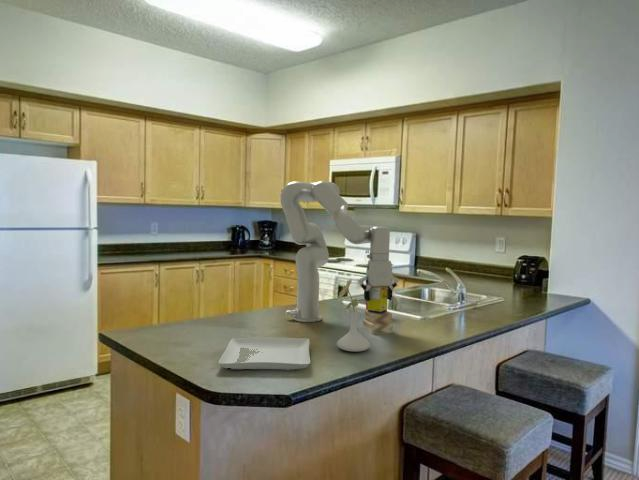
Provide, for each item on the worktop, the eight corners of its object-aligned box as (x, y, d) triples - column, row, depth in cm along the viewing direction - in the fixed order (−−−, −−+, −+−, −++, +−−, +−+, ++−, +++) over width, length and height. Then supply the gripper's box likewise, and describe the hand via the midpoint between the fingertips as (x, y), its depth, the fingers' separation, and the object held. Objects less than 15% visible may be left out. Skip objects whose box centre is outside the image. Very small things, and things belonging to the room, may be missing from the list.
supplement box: (387, 311, 191) (388, 284, 190) (380, 313, 186) (381, 286, 185) (373, 309, 194) (374, 282, 193) (367, 311, 189) (368, 284, 188)
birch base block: (371, 335, 185) (371, 324, 184) (362, 329, 193) (363, 319, 193) (392, 333, 187) (392, 323, 187) (383, 327, 196) (383, 318, 196)
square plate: (309, 347, 166) (309, 337, 166) (310, 375, 139) (310, 362, 139) (231, 346, 165) (231, 335, 165) (217, 374, 138) (217, 361, 138)
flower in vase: (349, 342, 172) (351, 274, 170) (376, 349, 165) (378, 278, 163) (327, 350, 162) (328, 278, 160) (354, 358, 155) (356, 282, 153)
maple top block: (373, 324, 185) (373, 314, 184) (364, 319, 192) (365, 310, 192) (391, 323, 187) (392, 313, 187) (382, 318, 195) (382, 309, 195)
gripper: (363, 258, 182) (361, 302, 183) (403, 258, 188) (401, 300, 189) (355, 256, 189) (354, 299, 190) (394, 256, 195) (393, 297, 196)
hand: (378, 299), depth 190 cm, fingers open, 9 cm apart
